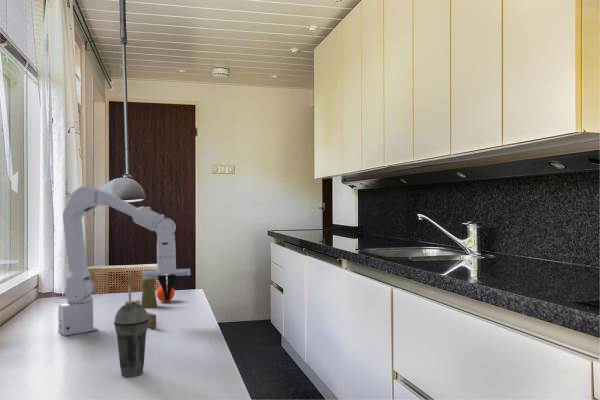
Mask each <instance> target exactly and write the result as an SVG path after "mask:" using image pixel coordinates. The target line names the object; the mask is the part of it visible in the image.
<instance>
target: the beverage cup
mask: <svg viewBox="0 0 600 400" xmlns="http://www.w3.org/2000/svg"><path fill="white" fill-rule="evenodd" d="M127 289H128V290H127V291H128V301H129V303H128V304H126V303H124V305H122V306H121V307H120V308H119V309H118V310H117V312H116V314H115V316H114V322H113V324H114V330H115V333H116V340H117V351H118V359H119V368H120V372H121V373H120V375H121V377H123V378H135V377H138V376H141V375H143V373H144V367H145V353H146V338H147V329H148V327H147V326H148V321H149V319H148V315H147V312H148V311H147V310H146V308H143V307H142V306H141V303H140V304H137V303H131V301H132V292H131V291H132V289H131V283H128V284H127Z"/></svg>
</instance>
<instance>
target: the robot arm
mask: <svg viewBox="0 0 600 400" xmlns="http://www.w3.org/2000/svg"><path fill="white" fill-rule="evenodd" d="M99 206H102V207H103V206H107V207H110V208H112V209H115V210H117V211H119V212H121V213H123V214H126V215H128V216H130V217H132V221H133V222H134V223H135V224H137V225H139V226H141V227H143V228H144V229H147V230H149V231H151V232H155V234H156V241H157V242H156V261H157V262H156V265H157V266H156V270H148V271H147V270H145V271H142V279H144V278H157V279H158V282H159V284H160V286H162V289H163V292H164V296H165V300H170V294H171V290H172V287H173V286H174V284H175V281H176V279H177V277H179V276H180V277H181V276H191V268H177V260H176V259H177V258H176V257H177V255H176V240H175V239H176V236H175V235H176V234H175V232H176V229H177V227H176V223H175V222H174V220H172V219H171V218H169V217H166V216H165V214H160V213H158V212H155V211H153V210H151V209H152V207H150V206H139V207H136V206H134V205H133V204H131V203H129V202H126V201H125V200H123V199H121V198H120V197H118V196H116V195H114V194H113V193H109V192H106V191H104V190H99V189H98V188H96V187H89V186H83V185H82V186H79V187H78V188H77V189H75V190H74V191H73V192H72V193H71V194H70V195H69V199H68V202H67V204H66V206H65V208H64V210H63V212H62V220H63V221H62V222H63V230H64V239H65V248H66V257H67V258H66V259H67V267H68V273H67V276H66V285H65V288H64V297H65V299H66V302H65V303H60V304H59V305H58V310H57V318H58V319H57V320H58V321H57V322H58V326H57V327H58V329H57V332H58V333H60V334H61V335H62V336H70V335H77V334H83V333H88V332H93V331H98V329H99V328H98V327H97V326H94V299H93V297H92V294H93V293H94V291H95V283H94V281H93V280H92V278H91V273H90V271H89V269H88V264H87V255H86V248H85V247H86V246H85V240H84V239H85V238H84V230H83V227H84V226H83V217H85V215H86V214H87V213H89V212H90V211H91V210H92V209H95V208H97V207H99ZM173 288H174V287H173ZM170 301H171V300H170Z"/></svg>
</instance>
